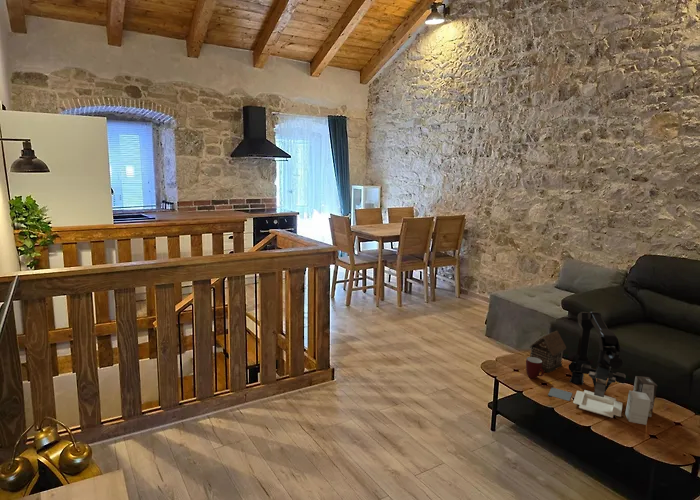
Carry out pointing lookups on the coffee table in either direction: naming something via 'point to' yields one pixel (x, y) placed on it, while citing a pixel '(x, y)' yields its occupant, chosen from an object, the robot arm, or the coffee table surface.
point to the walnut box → (600, 387)
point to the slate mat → (560, 394)
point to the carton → (598, 403)
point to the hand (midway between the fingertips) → (600, 389)
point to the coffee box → (646, 389)
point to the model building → (549, 351)
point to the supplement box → (637, 407)
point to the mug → (534, 367)
